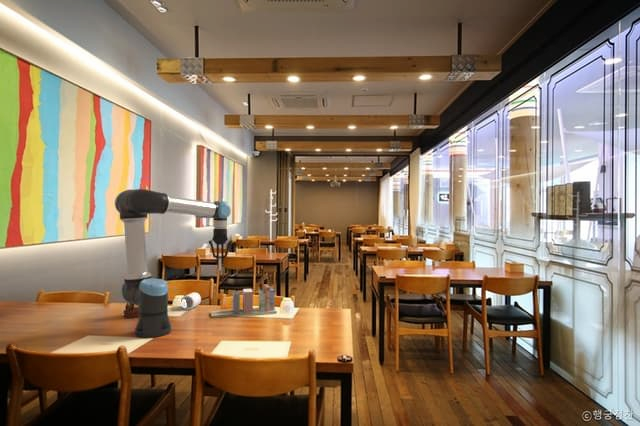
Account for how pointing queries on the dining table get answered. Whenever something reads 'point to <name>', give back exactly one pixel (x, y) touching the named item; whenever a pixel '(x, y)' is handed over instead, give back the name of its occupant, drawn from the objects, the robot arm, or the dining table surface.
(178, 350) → the dining table surface
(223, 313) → the rail
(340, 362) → the dining table surface
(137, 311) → the music box
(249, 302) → the book
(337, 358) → the dining table surface
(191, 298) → the mug
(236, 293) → the bookend
